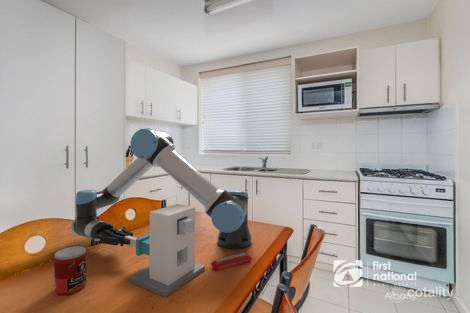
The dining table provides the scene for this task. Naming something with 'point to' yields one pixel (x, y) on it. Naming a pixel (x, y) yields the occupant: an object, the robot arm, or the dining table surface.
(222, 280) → the dining table surface
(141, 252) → the teal plunger
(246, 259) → the candy bar
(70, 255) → the canned food
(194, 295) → the dining table surface
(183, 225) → the steel plunger
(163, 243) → the switch block
